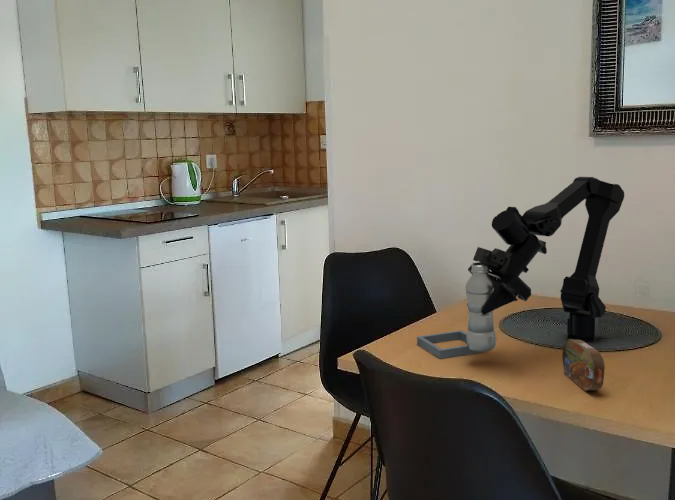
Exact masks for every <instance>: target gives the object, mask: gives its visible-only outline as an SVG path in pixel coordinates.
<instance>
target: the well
mask: <svg viewBox="0 0 675 500" xmlns="http://www.w3.org/2000/svg"><path fill="white" fill-rule="evenodd" d="M466 335H467V331H464V330H462V329H461V330H454V331H447V332H439V333H433V334H425V335H418V336H416V344H417V346H419V347H421V348H423V350H425V351H427V352H429V353H430V354H432V355H433V356H434V357H436V358H437V359H440V360H442V359H449V358H455V357H461V356H467V355H473V354H479V353H481V352H480V351H474V350H471V349H470V348H469V347H468V346H467V341H466ZM456 340H461V341H462V342H464V343H466V344H465V345H459V346H453V347H445V348H441V347H439V346H437V345H436V343H437V344H438V343H444V342H445V343H446V342H450V341H456ZM486 352H488V351H484V352H483V353H486Z"/></svg>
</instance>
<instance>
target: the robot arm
mask: <svg viewBox="0 0 675 500" xmlns="http://www.w3.org/2000/svg"><path fill="white" fill-rule="evenodd" d="M624 199H625V191H624V189H622V187H621V185H620V184H619V183H610V182H607V181H603V180H600V179H598V178H597V177H594V176H577V177H575V178H574V180H573V181H572V182H571V183H570V184H569V185H568V186H567V187H565V188H564V189H563V190H561V191H560V192H559V193H558V194H556V195H555V196H554V197H553V198H551V199H550V200H549V201H548V202H545V203H543V204H540V205H535V206H533V207H531V208H529V209H528V210H525V212H524V213H523V214H522V215H521V213H520V211H519V209H518V208H517V207H516V206H507V208H506V209H505V210H503V211H501V212H499V213H498V214H497V215H496V216H494V217H493V218H492V221H491V227H492V229H493V230H494V231H495V232H496V234H497V235H498V236H499V237H500V239H502V240H503V242H504V243H505V244H506V245H508V246H509V247H508V248H507V249H506V250H505V251H504V250H502V249H500V248H493V250H489V249H486V248H483V247H479V246H477V248H476V251H475V254H474V256H473V259H472V260H473V261H475V262H481V263H484V264H486V265H488V264H489V273H488V275H489V276H490V278H491V279H492V281H493V282H494V291H493V293H492V294H491V296H490V297H489V299H488V300H487V302H486V303H485V305H484V306H483V308H482V310H481V313H482V314H484V315H485V314H487V313H489V312H491V311H493V312H494V311H495V310H498V309H500V308H501V307H504V306H507V305H508V304H510V303H513V302H518V300H521V301H524V302H527V300H529V298H530V297H531V296H532V288H531V287H530V286H529V285H528V284H527V283H526V282H525V281H524V280H522V278H520V276H521V274H522V273H525V274H527V273H528V272H529V270H530V269H529V268H528V265H529V264H530V263H531V262H532V261H533V259H534V258H535V256H536V255H537V254H538V253H541V254H543V255H547V253H548V252H547V250H548V249H547V242H546V241H544V240H541V239H539V238H538V237H552V236H553V235H554V234H555V233H556V232H557V230H558V229H559V228H560V227H561V225H562V221H563V219H564V217H565V216H566V215H567V214H569V213H570V212H571V211H572V210H574V209H575V208H576V207H577V206H578V205H579V204H581V203H582V202H583V201H584V200H585V203H584V205H585V209H586V212H587V215H588V218H587V222H586V227H585V231H584V234H583V237H582V243H581V247H580V250H579V253H578V258H577V261H576V265H575V270H574V272H573V273H572V274H571V275H569V276H565V277H564V278H563V282H562V287H561V289H560V301H561V305H562V309H563V312H564V313H568V314H569V317H568V318H567V319H566V334H567V336H566V339H567V340H568V339H572V340H582V341H584V342H590V343H594V342H595V341H596V340H597V339H598V338H599V337H601V333H599V318H602V317H603V316H604V315H605V313H606V308H607V306H606V305H605V304H604V302H603V301H602V299H601V298H600V297H599V294H600V287H599V282H598V280H597V273H598V269H599V264H600V261H601V256H602V254H603V253H602V251H603V248H604V245H605V241H606V237H607V233H608V229H609V225H610V222H611V220H612V219H613V218H614V217H615V216H616V215H617V214H618V213H619V212H620V209H621V207H622V204H623V201H624ZM471 270H472V264H471V265H469V267H468V268H467V271H468V272H469V274H471V275H472V274H473V273H472V272H471ZM466 306H467V307H468V302H467V304H466Z"/></svg>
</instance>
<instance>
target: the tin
mask: <svg viewBox="0 0 675 500" xmlns="http://www.w3.org/2000/svg"><path fill="white" fill-rule="evenodd" d="M561 354H562V357H561V358H562V359H561V360H562V367H563V371H564V373H565V376H566V377H567V378H568V379H569V380H571V381H572V382H573V383H574V384H576V386H578V387H579V388H580V389H581V390H583V391H586V392H587V391H599V390H600V389H601V388H602V386H603V385H604V379H605V368H606V366H605V361H604V358H603V356H602V354H601V353H600V351H599V350H597V349H596V348H595V347H593V346H591V345H590V344H588V343H587V342H586V341H582V340H574V339H568V338H567V340H565V342H564V345H563V347H562V353H561Z"/></svg>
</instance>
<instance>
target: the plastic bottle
mask: <svg viewBox="0 0 675 500" xmlns="http://www.w3.org/2000/svg"><path fill="white" fill-rule="evenodd" d="M471 265H472V270H471V272H472V273H473V274H471V276H470V277H469V279H468V280H467V281H466V283H465V287H464V290H465V296H466V301H467V303H468V306H467V310H468V320H467V331H466V333H467V335H466V341H467V343H466V345H467V346H468V347H469V348H470V349H471V350H474V351H480V353H485V352H484V351H487V352H491V351H493V350H494V349H495V348H496V345H497V335H496V331H495V322H494V310H493V311H491V312H489V313H487V314H485V315H484V314H482V313H481V310H482V308H483V306H484V305H485V303H486V302H487V300H488V299H489V297H490V296H491V294H492V293H493V291H494V282H493V281H492V279H491V278H490V276H489V275H488V273H489V264H488V265H486V264H484V263H481V262H479V261H477V262H473V263H472V264H471Z"/></svg>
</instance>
